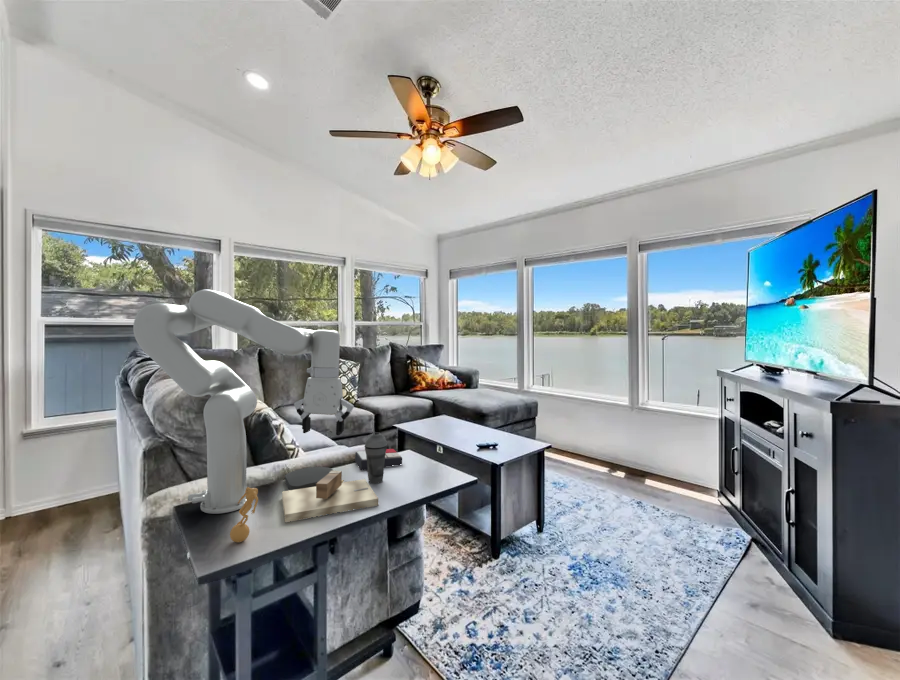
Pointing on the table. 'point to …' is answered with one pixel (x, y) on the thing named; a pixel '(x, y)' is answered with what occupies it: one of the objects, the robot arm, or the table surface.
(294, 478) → the media streaming box
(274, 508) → the table surface
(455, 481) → the table surface
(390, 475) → the table surface
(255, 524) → the table surface
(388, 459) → the calculator
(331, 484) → the brown wooden block
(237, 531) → the figurine
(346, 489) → the base
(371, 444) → the beverage cup
